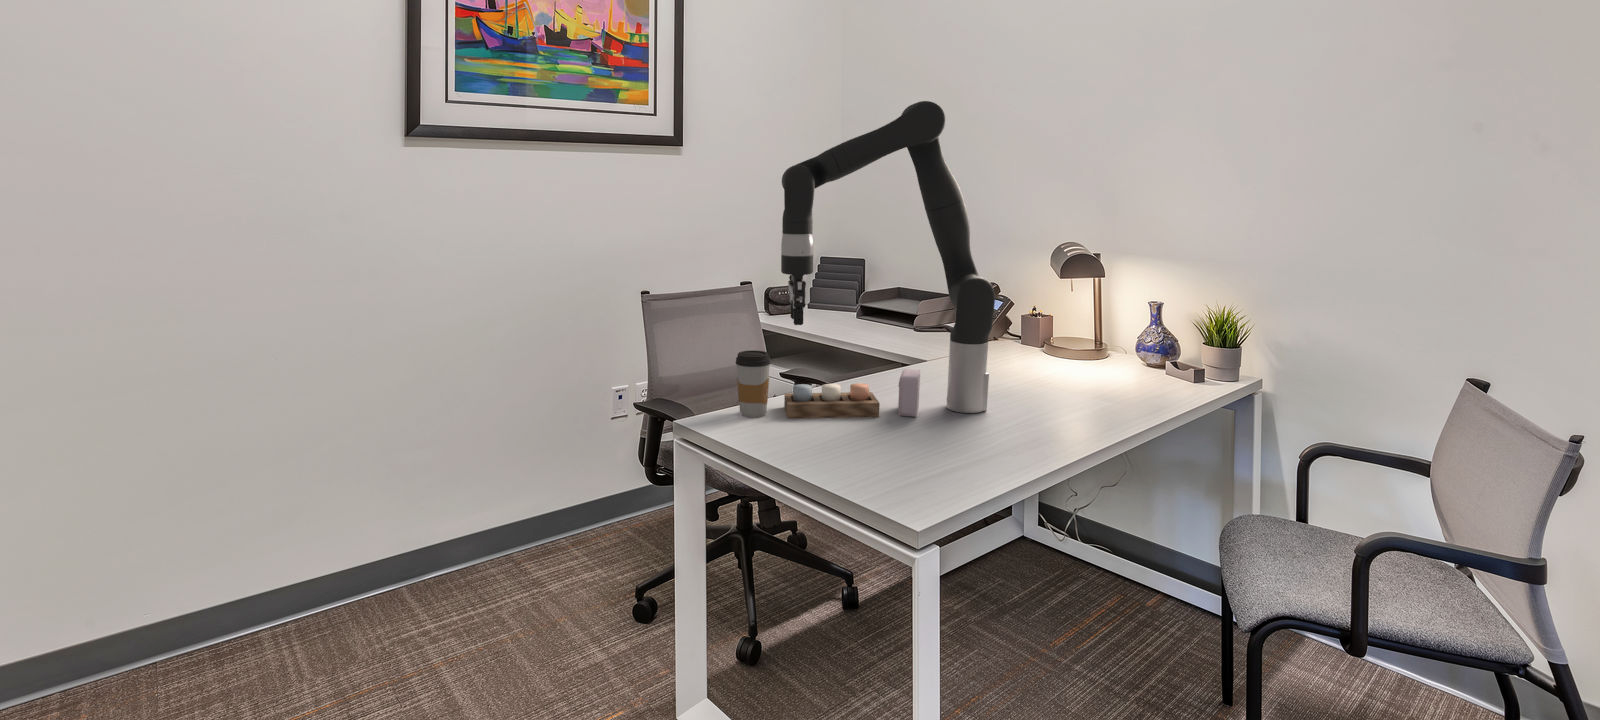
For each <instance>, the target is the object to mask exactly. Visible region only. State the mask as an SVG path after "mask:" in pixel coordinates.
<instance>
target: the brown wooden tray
mask: <svg viewBox="0 0 1600 720" xmlns="http://www.w3.org/2000/svg"><path fill="white" fill-rule="evenodd" d="M783 398H784V402H783V403H784V405H783V407H784V410H785V414H786V418H787V420H789V419H796V420H797V419H837V418H838V419H841V418H842V419H844V418H847V419H849V418H853V419H854V418H880V406H881V405H880V401H879V400H878V399H877V398H876V395H875V394H874V393H873V392H872V391H869V399H868V400H866V401H855V400H851V399H850V391H849V392H841V399H840V400H839V401H824V400H822V392H812V400H811V401H807V402H798V401H794V400H793V392H792V393H787V392H786V393H785V392H784V397H783Z"/></svg>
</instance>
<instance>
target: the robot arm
mask: <svg viewBox="0 0 1600 720" xmlns="http://www.w3.org/2000/svg"><path fill="white" fill-rule="evenodd" d="M946 122H947V121H946V113H945V112H944V110H943V108H942V107H941V106H940V104H939V105H938V104H937V103H936V102H933V101H929V100H928V101H927V100H923V101H922V100H921V101H918V102H915V103H913V104H910V105H908V106H907V107H906V108H905V109H904V110H903V111H902V113H901V115H900V116H898V117H897V118H896V119H894V120H892V121H891V122H888V123H887V124H884V125H883V126H881V127H880V126H879V127H878V128H876V129H874V130H872V131H869V132H867V133H864V134H862V135H858V136H856V137H853V138H850V139H848V140H845V141H844V142H841V143H839V144H837V145H835V146H832V147H831V148H828V149H827V150H825V151H823V152H821V153H819V154H818V155H817V156H815V157H811V158H808V159H806V160H804V161H800V162H799V163H796V164H794V165H792V166H790V167H788V168H787V169H786V170H785V171H784V172H783V173H782V176H781V177H782V178H781V186H782V188H783V189H784V190H783V191H784V195H783V196H784V199H783V200H784V204H783V205H784V210H783V213H782V224H781V225H782V231H781V233H782V234H781V235H782V237H781V243H780V244H781V245H780V251H781V252H780V255H781V257H780V266H781V267H780V271H781V273H782V274H783V275H789V276H788V279H789V280H788V281H787V286H788V298H789V303H790V319H792V320H793V325H794V326H802V325H803V324H804V310H805V308H806V297H807V296H806V295H807V293H806V290H807V282H806V280H804V276H805V275H807V276H808V275H811V274H813V273H814V237H813V226H814V225H813V224H814V223H813V222H814V221H813V207H814V200H815V199H814V198H815V190H816V189H817V188H819V187H821V186H823V185H825V184H827V183H831V182H834V181H837V180H840V179H842V178H844V177H845V176H849V175H850V174H852V173H854V172H857V171H858V170H860V169H863V168H864V167H866V166H868V165H870V164H872V163H874V162H876V161H877V160H880V159H882V158H883V157H886V156H888V155H890V154H892V153H895V152H897V151H901V150H902V149H907V151H908V154H909V156H910V158H911V161H912V163H913V167H914V169H915V173H916V177H917V178H916V179H917V183H918V187H919V191H920V195H921V199H922V202H923V205H924V210H925V213H926V217H927V220H928V224H929V227H930V229H931V232H932V235H933V238H934V241H935V245H936V248H937V249H938V253H939V255H940V258H941V262H942V266H943V270H944V274H945V280H946V286H947V292H948V297H949V299H950V301H951V304H952V306H954V307H955V310H956V311H955V319H954V326H953V327H952V328H951V329H950V332H949V333H950V336H949V351H948V352H949V353H948V368H947V369H948V371H947V372H948V373H947V388H946V389H947V390H946V391H947V392H946V405H945V406H946V408H947V410H950V411H953V412H957V413H964V414H975V413H981V412H987V411H988V410H987V409H988V397H989V394H988V393H989V380H990V379H989V378H990V373H989V372H988V371H987V366H988V352H989V351H988V350H989V340H990V339H989V336H990V334H991V332H992V328H993V322H994V313H995V302H996V301H995V297H996V296H995V289H994V287H993V285H992V283H991V282H990V281H989V280H988V279H986V278H985V277H981V276H980V274H979V272H978V270H977V268H976V265H975V261H974V257H973V256H972V251H971V243H970V242H971V240H970V238H971V234H970V233H971V229H970V227H971V226H970V218H969V214H968V213H969V212H968V210H967V209H968V208H967V206H966V202H965V199H964V196H963V193H962V191H961V190H962V189H961V188H960V185H959V184H958V181H957V180H956V178H955V176H954V175H953V173H952V171H951V169H950V167H949V166H948V164H947V161H946V160H945V157H944V153H943V150H942V145H941V141H940V135H941V134H942V133H943V131H944V129H945V126H946Z"/></svg>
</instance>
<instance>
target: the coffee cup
mask: <svg viewBox="0 0 1600 720" xmlns="http://www.w3.org/2000/svg"><path fill="white" fill-rule="evenodd" d="M736 356H737V357H735V365H736V383H737V395H738V396H737V397H738V403H739V407H738V408H739V413H740V416H741V417H744V418H750V419H758V418H762V417H765V416H766V413H767V412H768V411H767V409H768V408H767V407H768V399H769V384H770V367H771V366H770V365H771V358H770V355H769V353H768V351H764V350H755V349H754V350H744V351H742V350H741V351H740V352H738V353H737V355H736Z"/></svg>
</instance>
